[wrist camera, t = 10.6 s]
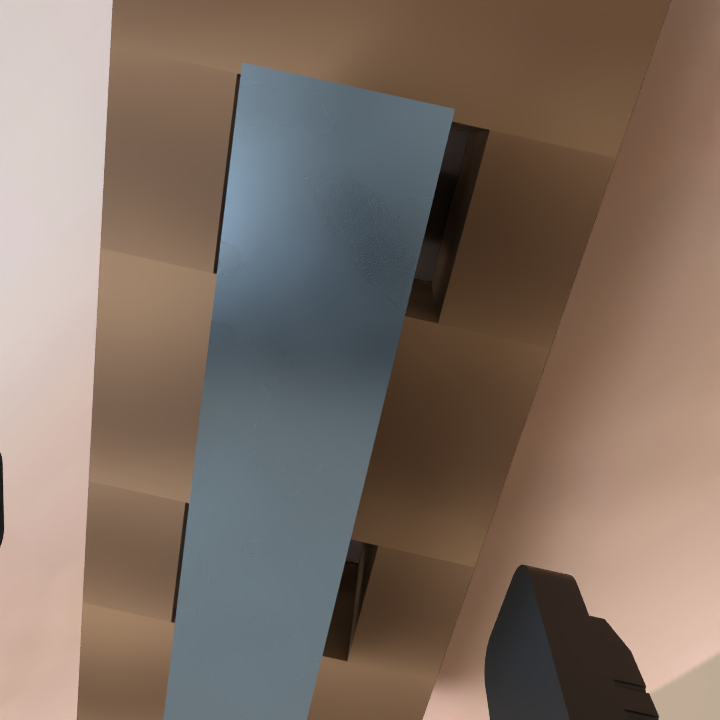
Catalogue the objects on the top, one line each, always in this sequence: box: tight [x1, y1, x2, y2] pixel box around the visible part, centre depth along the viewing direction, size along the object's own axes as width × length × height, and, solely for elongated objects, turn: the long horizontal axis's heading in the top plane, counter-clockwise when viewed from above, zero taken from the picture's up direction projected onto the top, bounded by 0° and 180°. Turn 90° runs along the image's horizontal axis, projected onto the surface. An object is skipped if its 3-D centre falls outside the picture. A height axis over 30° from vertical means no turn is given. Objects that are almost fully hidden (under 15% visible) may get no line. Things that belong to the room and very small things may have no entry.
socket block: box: [77, 0, 671, 720], centre depth 16 cm, size 24×10×4 cm, turn 168°
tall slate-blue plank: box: [163, 62, 455, 720], centre depth 14 cm, size 14×3×8 cm, turn 168°
